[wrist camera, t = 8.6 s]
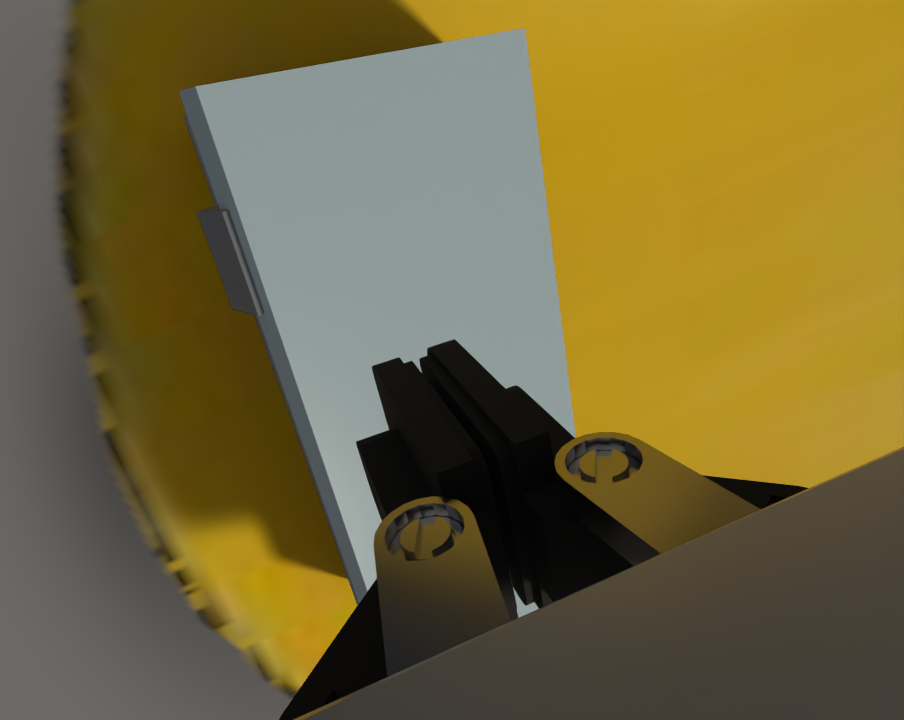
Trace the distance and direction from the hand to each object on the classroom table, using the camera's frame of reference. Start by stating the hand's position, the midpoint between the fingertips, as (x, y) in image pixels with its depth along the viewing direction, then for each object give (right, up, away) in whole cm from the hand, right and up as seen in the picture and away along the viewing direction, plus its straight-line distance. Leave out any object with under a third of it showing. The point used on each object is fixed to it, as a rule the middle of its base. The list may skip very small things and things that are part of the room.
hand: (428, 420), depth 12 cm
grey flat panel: (0, -1, +14) cm, 14 cm away
